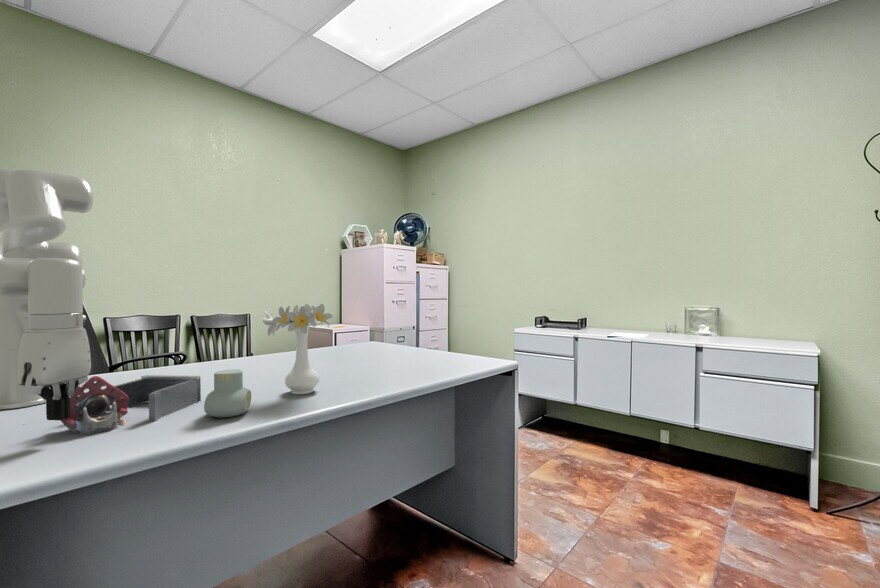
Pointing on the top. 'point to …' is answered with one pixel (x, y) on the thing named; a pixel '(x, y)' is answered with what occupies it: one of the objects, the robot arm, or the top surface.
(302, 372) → the flower vase
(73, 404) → the red and grey figure
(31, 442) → the top surface
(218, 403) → the grey rounded piece
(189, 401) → the bracket
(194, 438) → the top surface
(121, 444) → the top surface
